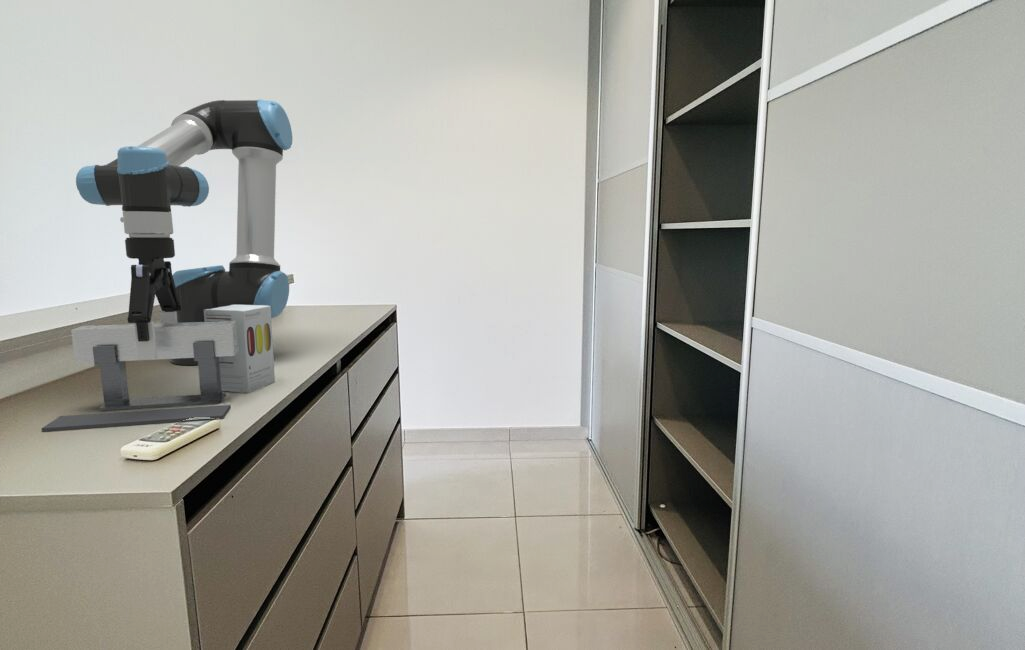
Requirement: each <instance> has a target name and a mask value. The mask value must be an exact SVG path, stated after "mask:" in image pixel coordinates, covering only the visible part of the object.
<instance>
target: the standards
mask: <svg viewBox="0 0 1025 650" xmlns="http://www.w3.org/2000/svg"><path fill="white" fill-rule="evenodd" d="M193 351H194V361H198V365H197V366H198V367H197V369H198V370H197V371H198V379H199V380H198V381H199V391H200V392H199V394H191V395H189V394H187V395H174V396H173V395H171V396H158V397H157V396H155V397H140V398H139V397H137V398H130V395H129V394H130V393H129V385H128V375H127V368H126V367H127V365H126V361H116V355H115V346H94V347H93V356H94V362H93V363H94V366H95V367H99V370H100V377H101V387H102V396H103V403H104V404H103V405H101V406H99V408H98V410H99V412H107V411H109V412H110V411H123V410H135V409H137V410H140V409H149V408H150V409H153V408H154V409H155V408H166V407H168V408H169V407H183V406H184V407H185V406H198V405H199V406H200V405H213V404H214V405H216V404H221V403H222V402H223V401H224V399H225V398H226V397H227V394H226V392H223V391H222V390H221V377H220V365H219V357H214V352H213V342H193Z"/></svg>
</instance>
